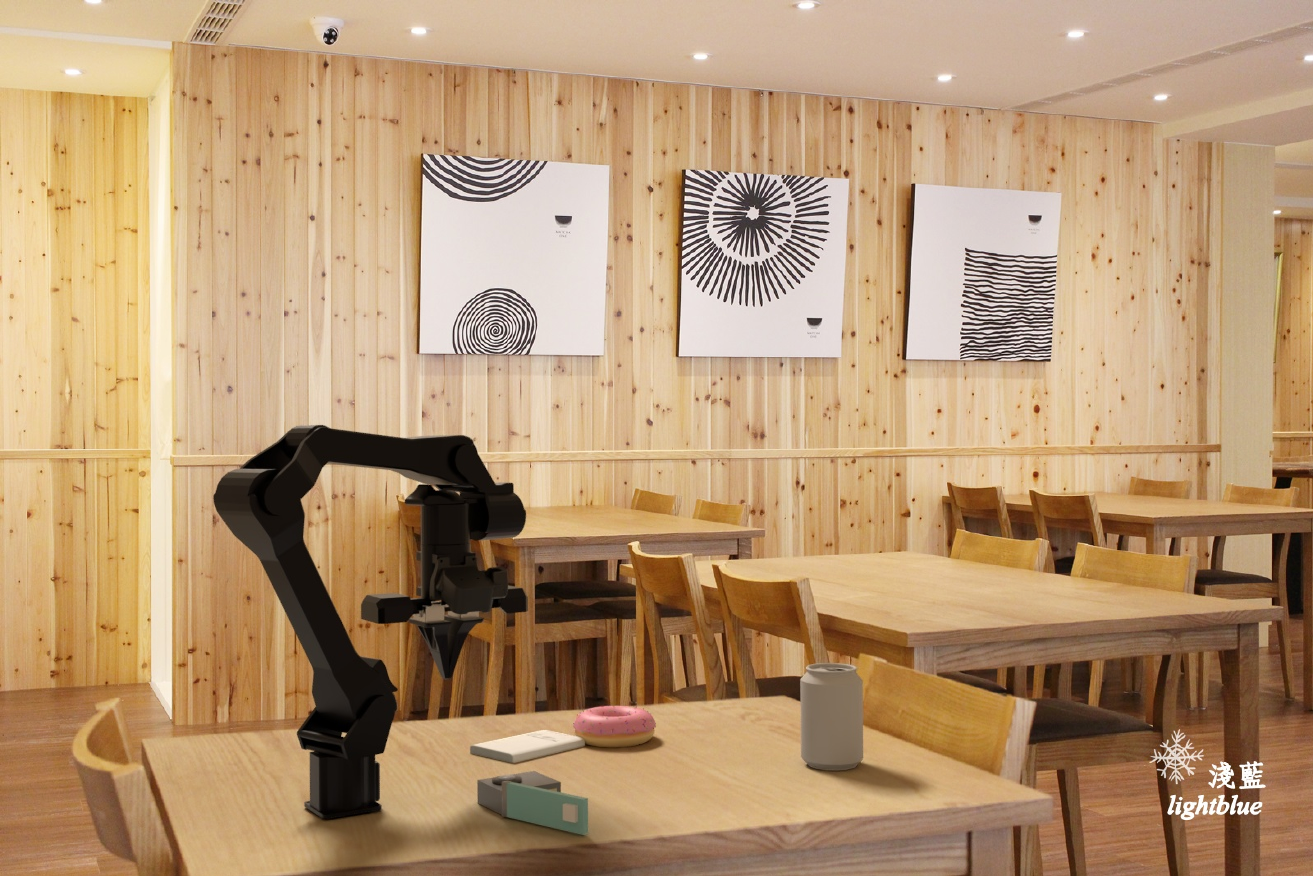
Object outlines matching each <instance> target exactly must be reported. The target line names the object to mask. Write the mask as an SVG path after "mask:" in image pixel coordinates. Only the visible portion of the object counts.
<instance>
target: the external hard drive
mask: <svg viewBox="0 0 1313 876" xmlns="http://www.w3.org/2000/svg"><path fill="white" fill-rule="evenodd" d="M583 747H586V744H585V740H584V739H583V738H582V737H578V736H576V735H572V734H568V733H567V734H566V733H562V732H557V731H553V730H549V729H540V730H536V731H532V732H527V733H523V734H518V735H513V736H512V735H511V736H508V737H504V738H499V739H498V738H497V739H494V740H489V741H484V742H480V743H475V744H471V745H470V746H469V753H470V754H471V755H476V756H481V757H484V758H488V759H494V760H497V761H501V762H505V763H510V764H516V763H519V762H525V761H529V760H531V759H536V758H537V759H538V758H541V757H545V756H549V755H553V754H557V753H562V752H566V751H570V750H574V749H577V748H583Z"/></svg>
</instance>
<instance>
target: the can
mask: <svg viewBox="0 0 1313 876" xmlns="http://www.w3.org/2000/svg"><path fill="white" fill-rule="evenodd" d="M805 669H806V672H805V673H804V675H803V676H802V677H801V678H800V679H799V681H800V683H799V685H800V686H799V687H800V688H799V689H800V757H801V759H802V760H803V762H805V763H806V764H807V765H808V766H807V767H810V768H812V769H817V770H822V771H832V772H833V771H847V770H851V769H855V768H857V766H858V765H859V764H860V762H862V761H863V759H864V702H863V701H864V694H863V693H864V689H863V688H864V684H863V683H864V680H863V679H862V677H860V676H859V674H858V673H857V670H858V667H857V666H856V665H853V664H847V663H838V662H837V663H836V662H822V663H821V662H820V663H819V662H818V663H812V664H808V665H806V667H805Z"/></svg>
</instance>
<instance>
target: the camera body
mask: <svg viewBox="0 0 1313 876" xmlns="http://www.w3.org/2000/svg"><path fill="white" fill-rule="evenodd" d="M503 781H511V782H514V783H519V784H524V785H528V786H533V787H538V788H542V789H547V790H552V791H557V792H561V793H562V783H561V781H559V780H557V779H554V778H553V777H550V776H548V775H545V774H542V773H540V772H538V771H535V770H532V771H531V770H530V771H525V772H519V773H511V774H504V775H502V774H501V775H497V776H495V777H494V776H493V777H488V778H480V779H477V780H476V782H477V787H476V788H477V791H476V792H477V804H479V805H480V806H482V807H485V808H487V809H489V810H491V811H492V812H495V813H497V814H499V815H500V816H502V782H503Z"/></svg>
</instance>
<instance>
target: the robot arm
mask: <svg viewBox="0 0 1313 876" xmlns="http://www.w3.org/2000/svg"><path fill="white" fill-rule="evenodd" d="M328 464H330V465H337V466H338V465H340V466H347V467H356V468H357V467H358V468H366V469H367V468H369V469H376V470H385V471H391V472H394V473H396V474H399V475H401V476H402V477H404V478H407V479H410V480H412V481H416V482H417V483H420V484H418V485H417V486H416V488H415V489H414V491H412V492H411V493H410V494H409V495H408V496H407V497H406V498H405V499H404V504H405V505H407V506H420V551H416V552H415V553H416V561H418V562H420V586H416V596H418V597H413V598H411V596H409V595H405V594H401V593H396V592H389V593H388V592H387V593H374V594H373V593H371V594H366V595H365V596H364V598H363V600H362V602H361V604H360V620H362V621H367V622H370V623H373V624H377V625H387V624H388V625H391V624H400V623H407V622H408V623H409V624H411V625H415V626H417V628H418V630H419V632H420V634H421V636H422V637H423V639H424V641H425V643H426V644H427V646H428V649H429V650H430V651H429V652H430V653H431V656H432V659H433V661H434V664H435V665H436V667H437V670H438V673H439V675H440V677H441V679H443V680H450V679H452V678H453V675H454V673H455V669H456V667H457V663H458V660H459V657H460V654H461V652H462V649H463V648H464V647H463V646H464V644H465V641H466V640H467V637H468V635H469V633H470V632H471V631H472V630H473V629H474V627H475V626H476V625H478V624H482V623H484V620H485V618H484V617H480V612H481V613H489V612H491V611H492V609H498V608H499V609H500V611H502V612H503V613H504V614H515V613H517V614H518V613H527V612H529V597H528V594H527V592H526V591H525V589H524V588H523V587H521V586H520V587H519V586H514V585H509V575H508V573H509V572H508V570H507V569H506V568H505V567H504V566H496V567H493V566H492V567H488V568H487V569H486V570H485V569H484V570H483V569H482V570H479V566H478V564H477V561H478V560H477V556H476V552H472V551H471V550H472V549H471V541H475V542H478V541H480V542H481V541H491V540H504V539H513V538H516V537H518V536H519V535H520V534H521V533H522V532H523V530H524V528H525V525H526V521H527V511H526V509H525V506H524V504H523V502H522V499H521V498H520V496H519V495H518V494H516V492H514V491H515V490H514V489H515V488H514V483H513V482H495V481H494V479H493V478H492V475H491V473H490V472H489V470H488V468H487V467H486V464H485V463H484V462H483V460H482V458H481V457H480V454H479V453H478V449H477V447H476V444H475V443H474V440H473V439H472V438H471V437H469V436H467V435H464V434H453V435H452V434H451V435H450V434H449V435H448V434H446V435H444V434H442V435H441V434H440V435H435V434H434V435H420V436H418V435H417V436H406V437H399V436H393V435H391V436H390V435H383V434H376V433H370V432H362V431H355V430H345V429H338V428H331V427H329V426H327V425H324V424H305V425H304V424H303V425H302V424H301V425H295V426H294V427H292V428H291V429H290V430H288V431H287V432H285V434H283V435H282V436H281V437H280V438H279V439H278V440H277V441H276V442H274V443H273V444H271V445H270V446H267V448H265V449H264V450H262V451H260V452H259V453H257V454H256V455H253V456H252V457H250V459H248V460H247V461H246V462H245V463H244V464H243V465H242V466H240V467H239V468H236V469H231V470H230V471H228V472H227V473H225V474H224V475H223V476H222V477H221V478H220V480H219V482H218V483H217V484H216V489H215V493H214V494H213V504H214V507H215V511H216V512H217V514H218V515H219V517H220V518H221V520H222V521H223V523H224V524H225V525H226V526H227V528H228V529H229V530H230V532H231V533H232V535H233V536H234V537H235V538H236V539H237V540H239V541H240V542H241V543H242V544H243V545H244V546H245V547H247V548H248V549H249V550H250V551H251V552H252V553H253V554H254V555H255V556H256V557H257V558H258V560H259V561H260V563H261V565H262V568H263V569H264V572H265V574H266V576H267V578H268V580H269V582H270V583H271V586H272V588H273V590H274V592H275V593H276V594H275V595H276V596H277V598H278V601H279V602H280V605H281V607H282V609H283V610H284V612H285V614H286V615H285V616H286V617H287V618H288V620H289V623H290V625H291V627H292V629H293V630H294V633H295V635H296V637H297V639H298V642H299V643H300V645H301V647H302V649H303V651H304V654H305V655H306V658H307V659H308V662H309V663H310V664H309V665H311V667H312V671H313V672H312V686H311V694H312V699H313V701H314V708H313V709H312V710H311V712H310V713H309V714H308V717H307V718H306V719H305V720H304V721H303V722H302V725H301V726H300V727H299V729H297V732H296V738H297V739H298V742H299V746H300V749H301V750H304V751H310V752H309V800H307V801H304V802H303V803H304V805H303V806H304V808H305V809H308V811H311V812H312V813H314V814H315V815H316V816H318V817H319V818H320V819H323V820H327V819H334V818H341V817H342V818H343V817H347V816H351V815H359V814H364V813H370V812H377V811H381V810H382V809H383V808H382V807H383V806H382V804H381V803H379V801H380V799H381V782H380V781H381V774H380V772H381V771H380V770H381V764H380V762H378V761H376V755H377V756H378V755H381V754H384V753H385V750H386V745H387V742H388V738H389V735H390V732H391V729H392V726H393V725H392V724H393V722H394V720H395V715H396V712H397V711H398V702H397V697H396V695H395V693H397V692H398V690H399V689H398V687H397V686H396V685H394V683H393V682H392V681H391V679H390V677H389V672H388V669H387V666H386V663H384V661H383V660H382V659H379V658H374V657H366V656H362V655H361V656H360V655H359V653H358V652H357V650H356V648H355V646H354V644H353V642H352V641H351V638H350V635H349V634H348V632H347V630H346V628H345V625H344V623H343V621H342V619H341V616H340V614H339V613H338V610H337V609H336V606H335V604H334V602H333V599H332V598H331V595H330V593H329V592H328V589H327V587H326V586H325V583H324V581H323V579H322V576H321V575H320V572H319V571H318V568H317V566H316V564H315V562H314V559H313V558H312V555H311V554H310V552H309V551H310V550H309V549H308V547H307V545H306V542H305V540H304V535H305V534H304V533H305V521H306V520H305V518H306V513H305V510H304V505H303V503H302V499H303V498H304V497H305V496H306V495H307V494H308V493H309V492H310V491H311V490H312V489H313V488H314V487H315V486H316V483H317V481H318V478H319V476H320V474H321V473H322V470H323V468H324V467H325V466H326V465H328ZM421 483H422V484H421ZM433 486H434V487H433ZM435 488H436V489H435ZM445 612H446V613H447V614H445ZM412 616H413V617H412ZM343 734H345V736H343Z"/></svg>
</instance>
